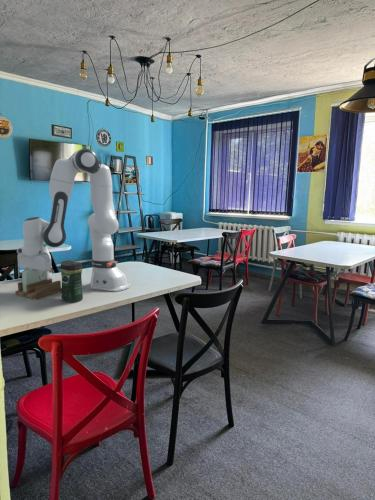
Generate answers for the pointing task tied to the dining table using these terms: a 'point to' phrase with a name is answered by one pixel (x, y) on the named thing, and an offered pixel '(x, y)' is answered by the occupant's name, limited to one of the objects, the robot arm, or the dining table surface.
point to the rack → (39, 289)
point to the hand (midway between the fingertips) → (35, 277)
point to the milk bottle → (49, 273)
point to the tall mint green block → (31, 277)
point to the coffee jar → (71, 281)
